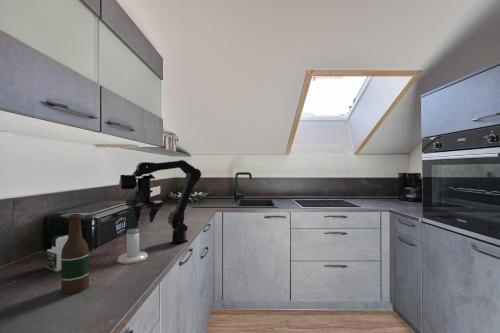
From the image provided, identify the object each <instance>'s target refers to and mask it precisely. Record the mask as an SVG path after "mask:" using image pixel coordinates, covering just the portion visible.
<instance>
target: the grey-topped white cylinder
mask: <svg viewBox="0 0 500 333" xmlns="http://www.w3.org/2000/svg"><path fill="white" fill-rule="evenodd" d="M139 251H140V228H135V227H134V228H130V229H126V253H127V257H128V258H134V257H137V256H139Z"/></svg>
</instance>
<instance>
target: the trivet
mask: <svg viewBox="0 0 500 333" xmlns="http://www.w3.org/2000/svg"><path fill="white" fill-rule="evenodd" d="M148 258H149V254H148V253H147V252H146V251H141V250H139V256H137V257H134V258H128V257H127V252H125V253H123V254H121V255H119V257H118V258H117V260H116V262H117V263H118V264H121V265H132V264H133V265H134V264H137V263H141V262H144V261H146V260H148Z"/></svg>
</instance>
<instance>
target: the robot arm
mask: <svg viewBox="0 0 500 333" xmlns="http://www.w3.org/2000/svg"><path fill="white" fill-rule="evenodd" d="M171 169H172V170H173V169H180V171H182V172H183V173H184V174H185V180H184V181H185V184H184V187H183V189H182V192H181V194H180V197H179V200H178V202H177V205H176V207H175V210H173V211H170V212H169V215H168V217H167V223H168V225H169V226H170V227H171V229H172V230H173V231H172V241H170V244H176V245H182V244H185V243H187V242H188V241H189V239H187V232H188V228H189V226H187V225H186V224H185V223H184V221H185V211H186V209H187V207H188V206H187V205H188V203H189V201H190V198H191V195H192V193H193V190H194V187H195V186H196V184H197V183H198V182H199V181H200V179H201V177H202V172H201V170H200V169H198V168H195V166H193V165H191V164H189V163H188V162H187V161H186V160H185V159H180V160H174V161H164V162H150V161H149V162H148V161H147V162H146V161H143V162H142V161H141V162H139V163H138V164H137V165H136V169H135V170H134V172H133V173H132V174H120V176H119V177H120V178H119V182H118V184H119V185H118V186H119V190H120V191H121V190H123V191H124V190H125V191H127V190H134V189H135V188H137V190H135V192H134V194H133V195H131V196H129V197H127V198H126V199H125V206H127V208H129V209H130V210H132V212H133V216H134V217H135V221H139V220H140V217H141V212H142V207H143V206H146V207H147V208H146V210H147V211H148V215H149V223H151V224H152V223H153V221H154V219H155V217H156V215H157V213H158V211H159V210H160V209H161V208H162V207H164V206H163V205H164V204H163V201H162V200H158V199H157V200H156V199H155V200H154V199H153V198H151V195H152V194H151V193H153V189H151V186H152V185H151V182H152V180H156V176H154V175H153V173H155V172H158V171H164V170H171Z"/></svg>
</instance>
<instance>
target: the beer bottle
mask: <svg viewBox="0 0 500 333" xmlns="http://www.w3.org/2000/svg"><path fill="white" fill-rule="evenodd" d="M82 218H83V217H82V214H81V213H72V214H68V220H69V221H68V222H69V223H68V234H67V235H68V240H67V241H66V243H65V244H64V246H63V249H62V254H61V270H60V273H61V274H60V275H61V277H60V278H61V279H60V280H61V283H60V285H61V286H60V287H61V294H62V295H69V296H71V295H75V294H80V293H82V292H83V291H85V290H88V289H89V287H90V252H89V249H90V248H89V245H88V243H87V241H86V240H85V239H84V238H83V232H82V220H81V219H82Z"/></svg>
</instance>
